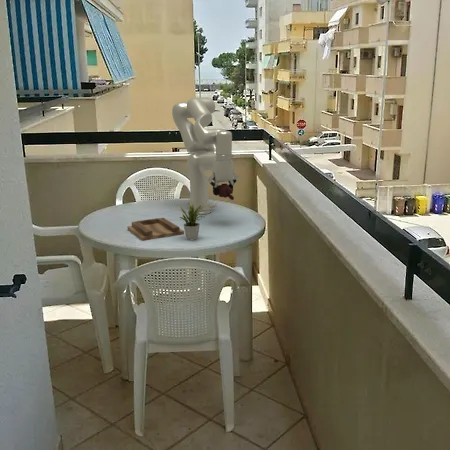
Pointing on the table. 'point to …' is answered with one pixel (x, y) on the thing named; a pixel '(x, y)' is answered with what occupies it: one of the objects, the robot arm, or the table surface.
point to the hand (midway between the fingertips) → (223, 193)
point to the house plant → (191, 222)
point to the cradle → (154, 229)
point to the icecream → (225, 191)
